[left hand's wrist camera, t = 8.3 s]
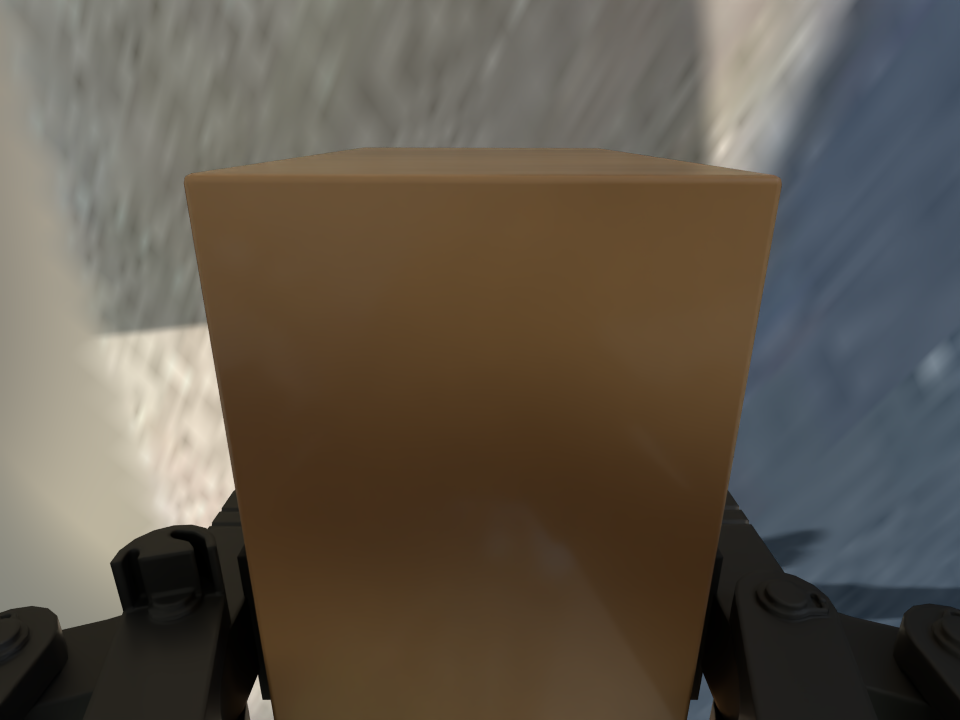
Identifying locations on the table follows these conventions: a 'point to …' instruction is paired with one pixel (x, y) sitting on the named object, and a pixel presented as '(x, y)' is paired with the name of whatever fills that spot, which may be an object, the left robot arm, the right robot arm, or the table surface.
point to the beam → (481, 420)
